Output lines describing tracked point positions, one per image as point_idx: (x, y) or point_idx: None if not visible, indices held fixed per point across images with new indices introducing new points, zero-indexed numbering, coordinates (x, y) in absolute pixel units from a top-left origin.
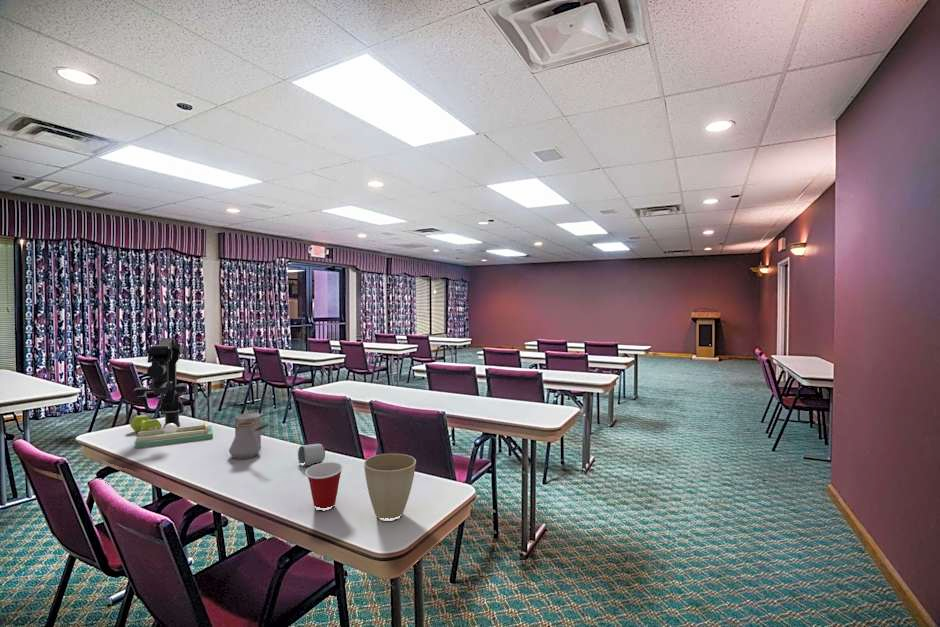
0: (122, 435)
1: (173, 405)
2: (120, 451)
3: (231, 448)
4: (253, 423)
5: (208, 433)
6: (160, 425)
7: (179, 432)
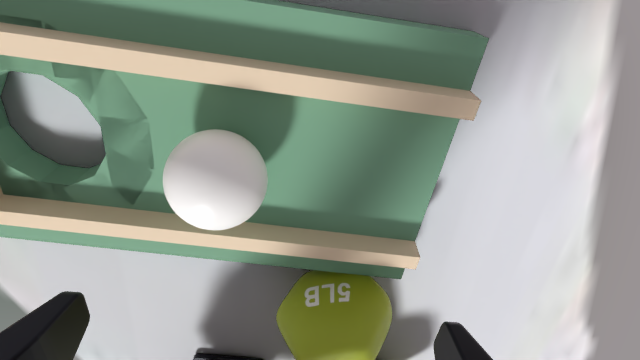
0: None
1: (20, 338)
2: (578, 9)
3: None
4: None
5: None
6: (282, 315)
7: None
